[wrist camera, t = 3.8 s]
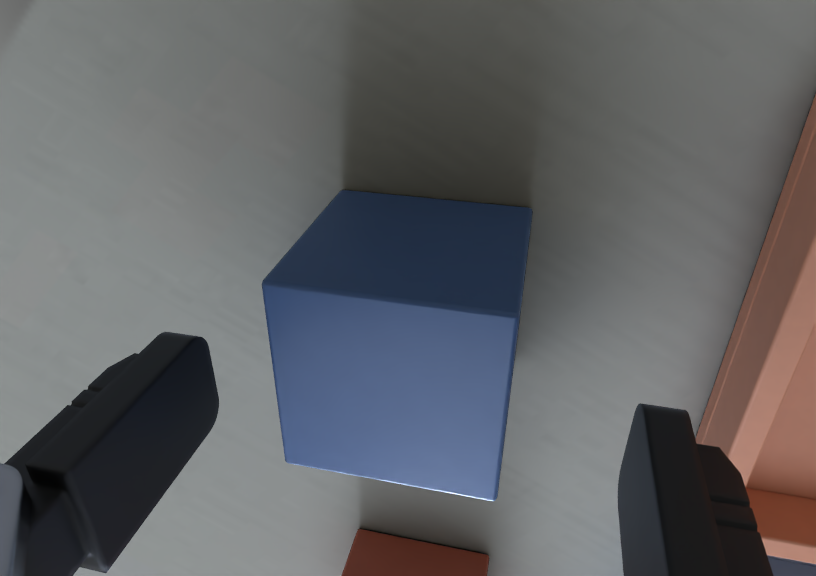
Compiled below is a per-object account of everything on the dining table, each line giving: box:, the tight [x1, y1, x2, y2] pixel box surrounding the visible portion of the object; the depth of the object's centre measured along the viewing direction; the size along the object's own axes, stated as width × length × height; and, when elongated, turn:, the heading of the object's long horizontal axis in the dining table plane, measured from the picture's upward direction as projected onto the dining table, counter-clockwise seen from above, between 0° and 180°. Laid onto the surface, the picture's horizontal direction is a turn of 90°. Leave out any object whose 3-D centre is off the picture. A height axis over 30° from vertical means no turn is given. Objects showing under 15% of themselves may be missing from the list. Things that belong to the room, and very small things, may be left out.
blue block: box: [262, 190, 533, 501], centre depth 13 cm, size 4×4×4 cm
